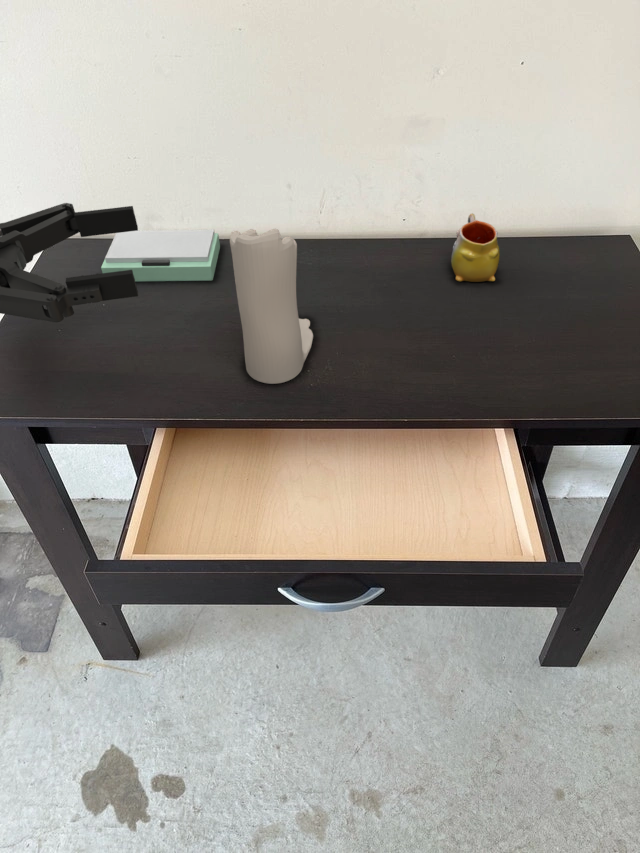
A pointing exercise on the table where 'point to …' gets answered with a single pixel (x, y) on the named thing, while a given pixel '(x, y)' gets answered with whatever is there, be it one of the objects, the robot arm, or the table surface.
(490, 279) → the mug
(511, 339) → the table surface
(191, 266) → the scale
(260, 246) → the candle
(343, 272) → the table surface
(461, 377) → the table surface
